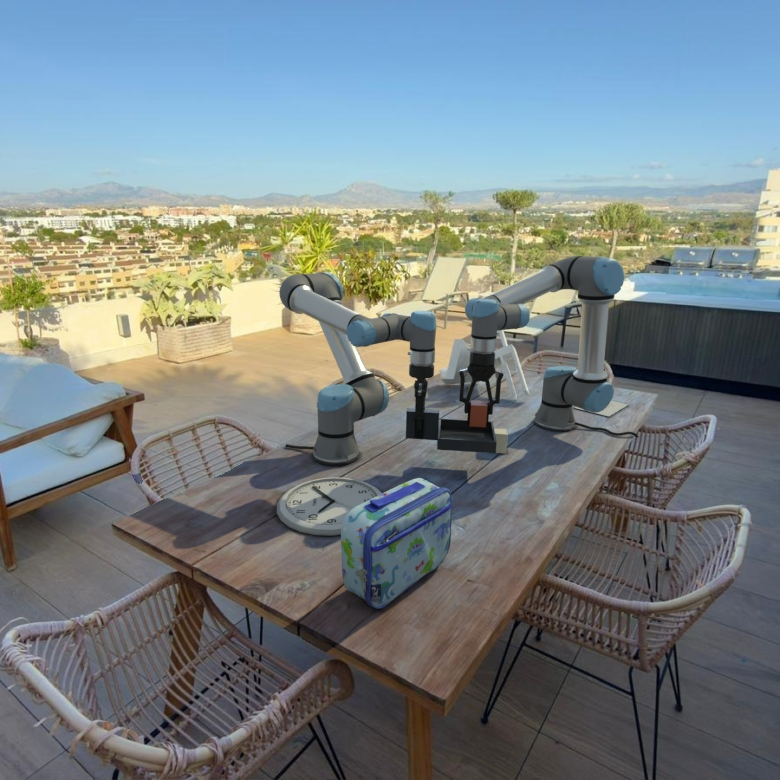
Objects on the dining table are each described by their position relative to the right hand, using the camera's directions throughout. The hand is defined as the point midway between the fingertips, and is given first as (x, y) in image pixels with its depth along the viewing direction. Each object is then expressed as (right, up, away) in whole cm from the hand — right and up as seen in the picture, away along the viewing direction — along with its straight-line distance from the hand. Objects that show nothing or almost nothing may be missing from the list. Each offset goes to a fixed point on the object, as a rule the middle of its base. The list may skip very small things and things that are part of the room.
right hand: (477, 423), depth 165 cm
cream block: (+10, -10, +16) cm, 21 cm away
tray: (-9, -5, -2) cm, 10 cm away
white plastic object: (+14, +9, +79) cm, 80 cm away
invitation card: (+64, +3, +62) cm, 89 cm away
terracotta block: (0, 0, 0) cm, 0 cm away
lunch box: (-26, -31, -52) cm, 65 cm away
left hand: (-18, -4, -1) cm, 19 cm away
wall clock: (-43, -21, -22) cm, 53 cm away
